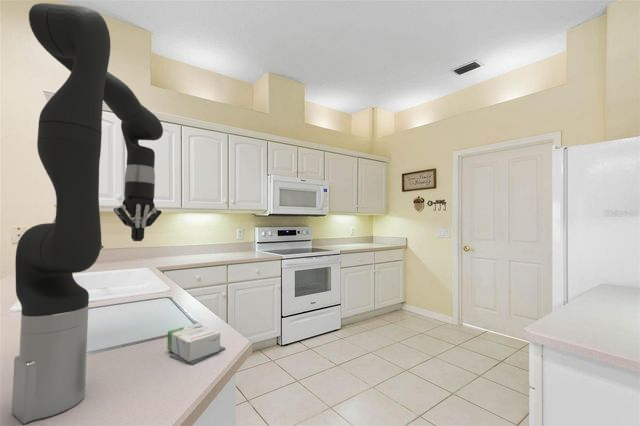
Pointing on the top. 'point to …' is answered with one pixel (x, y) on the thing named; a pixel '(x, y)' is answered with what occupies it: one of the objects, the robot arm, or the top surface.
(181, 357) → the mat
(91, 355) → the top surface
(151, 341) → the top surface
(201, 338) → the ink box
